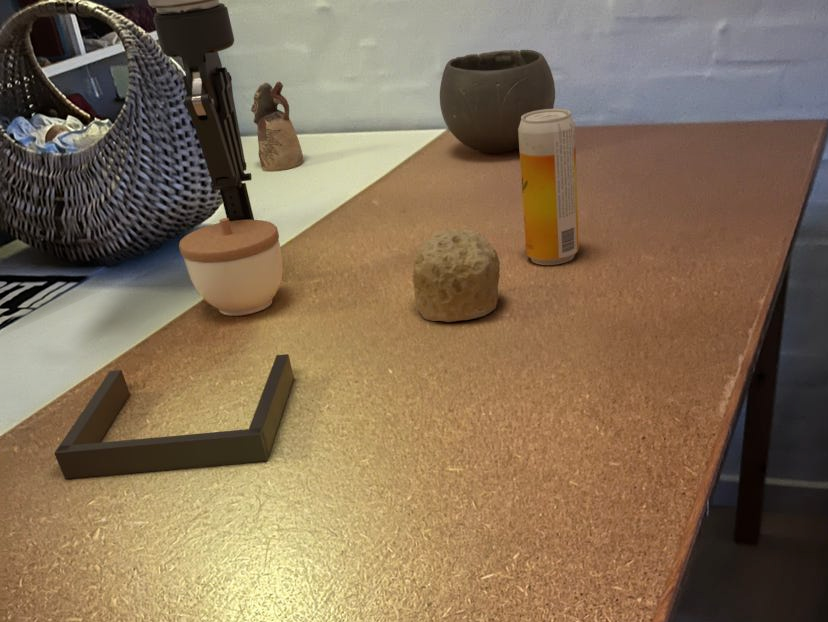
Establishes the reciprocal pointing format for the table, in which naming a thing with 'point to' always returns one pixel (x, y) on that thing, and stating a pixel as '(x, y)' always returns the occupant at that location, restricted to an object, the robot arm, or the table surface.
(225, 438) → the frame
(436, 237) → the coral
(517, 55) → the bowl
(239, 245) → the trinket box
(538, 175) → the beer can
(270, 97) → the figurine
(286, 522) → the table surface
